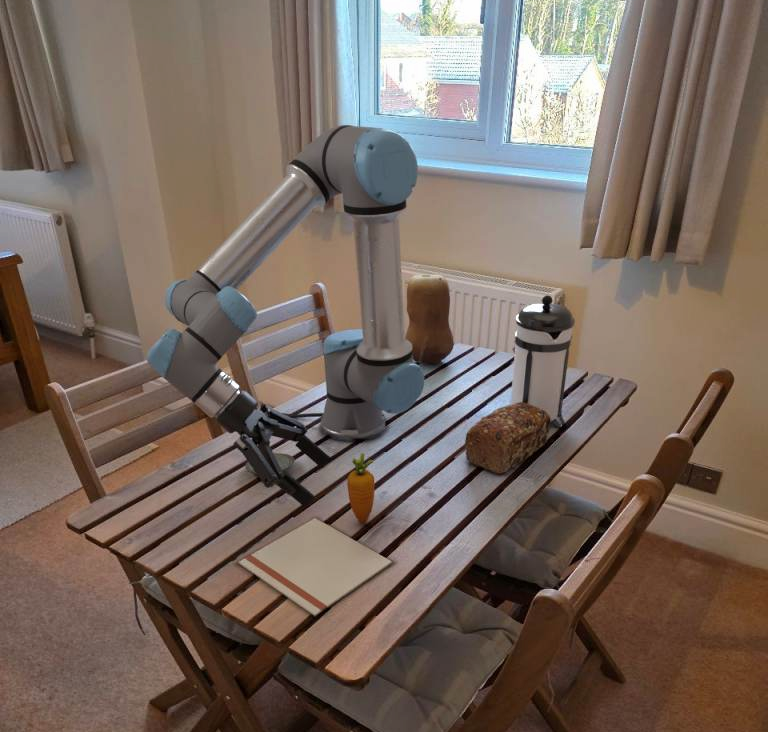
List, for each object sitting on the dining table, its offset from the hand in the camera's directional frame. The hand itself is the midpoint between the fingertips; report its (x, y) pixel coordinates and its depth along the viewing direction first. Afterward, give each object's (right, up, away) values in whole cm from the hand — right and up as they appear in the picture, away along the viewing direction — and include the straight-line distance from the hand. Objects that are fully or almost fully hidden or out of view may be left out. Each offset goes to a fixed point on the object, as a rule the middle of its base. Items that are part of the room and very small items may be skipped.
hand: (318, 481), depth 127 cm
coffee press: (+48, +15, +40) cm, 64 cm away
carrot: (+8, -8, +4) cm, 12 cm away
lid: (-12, +2, +21) cm, 25 cm away
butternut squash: (+25, +34, +71) cm, 82 cm away
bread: (+39, +6, +25) cm, 47 cm away
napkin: (0, -14, -6) cm, 16 cm away
